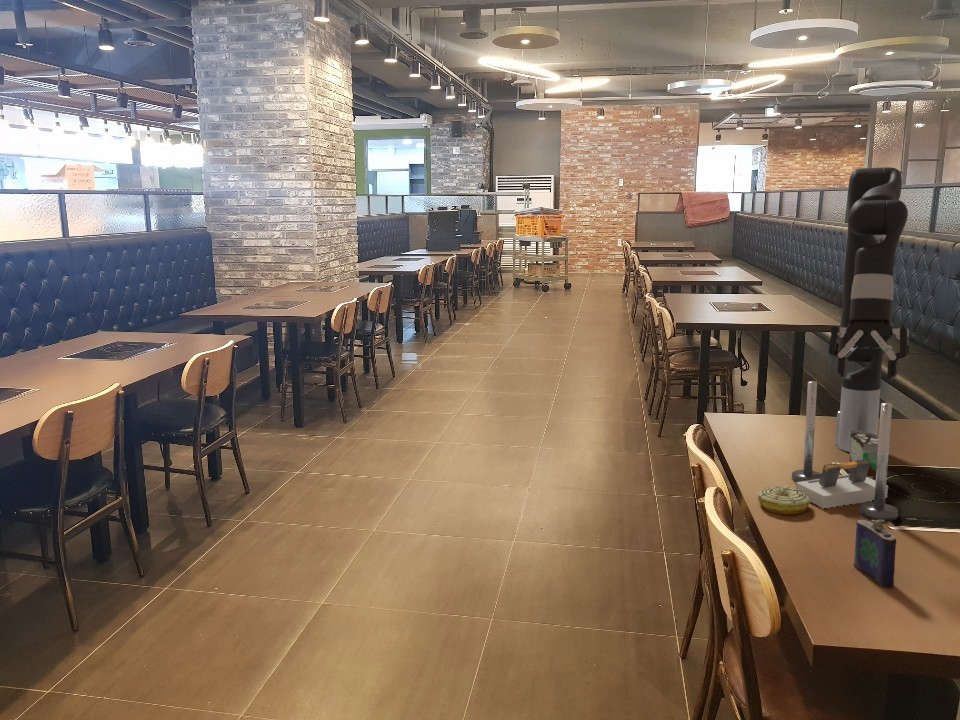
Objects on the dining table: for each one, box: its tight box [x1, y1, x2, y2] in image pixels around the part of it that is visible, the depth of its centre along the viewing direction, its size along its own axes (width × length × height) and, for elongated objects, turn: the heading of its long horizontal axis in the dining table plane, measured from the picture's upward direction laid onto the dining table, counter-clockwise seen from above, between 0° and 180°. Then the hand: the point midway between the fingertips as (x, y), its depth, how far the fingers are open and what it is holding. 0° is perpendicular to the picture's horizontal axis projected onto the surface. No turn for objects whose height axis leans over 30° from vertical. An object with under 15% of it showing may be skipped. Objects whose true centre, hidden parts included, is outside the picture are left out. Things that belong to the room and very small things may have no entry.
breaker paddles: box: [819, 459, 871, 488], centre depth 165 cm, size 2×11×5 cm, turn 106°
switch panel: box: [795, 473, 889, 510], centre depth 167 cm, size 9×17×3 cm, turn 106°
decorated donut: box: [757, 485, 811, 516], centre depth 163 cm, size 10×11×4 cm
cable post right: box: [859, 402, 899, 523], centre depth 155 cm, size 7×7×24 cm
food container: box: [848, 430, 879, 481], centre depth 178 cm, size 12×6×10 cm, turn 168°
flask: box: [853, 519, 897, 590], centre depth 131 cm, size 9×3×11 cm, turn 8°
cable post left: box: [791, 380, 822, 483], centre depth 175 cm, size 7×7×24 cm
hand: (866, 378), depth 149 cm, fingers open, 8 cm apart
